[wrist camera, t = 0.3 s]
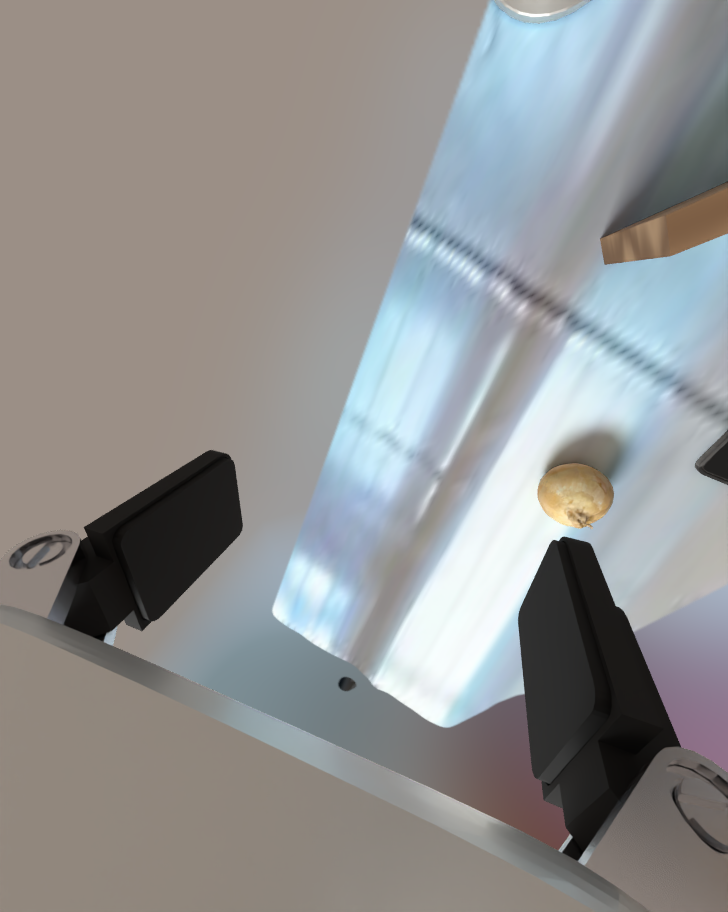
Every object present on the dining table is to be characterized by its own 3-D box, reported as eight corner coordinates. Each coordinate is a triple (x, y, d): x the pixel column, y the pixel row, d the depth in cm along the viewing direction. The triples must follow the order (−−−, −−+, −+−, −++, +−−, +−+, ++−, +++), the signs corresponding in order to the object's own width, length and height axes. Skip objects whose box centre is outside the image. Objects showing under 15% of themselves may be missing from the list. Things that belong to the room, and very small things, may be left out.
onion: (521, 480, 46) (526, 510, 40) (574, 443, 41) (589, 470, 35) (563, 517, 46) (575, 552, 40) (620, 484, 42) (642, 518, 36)
